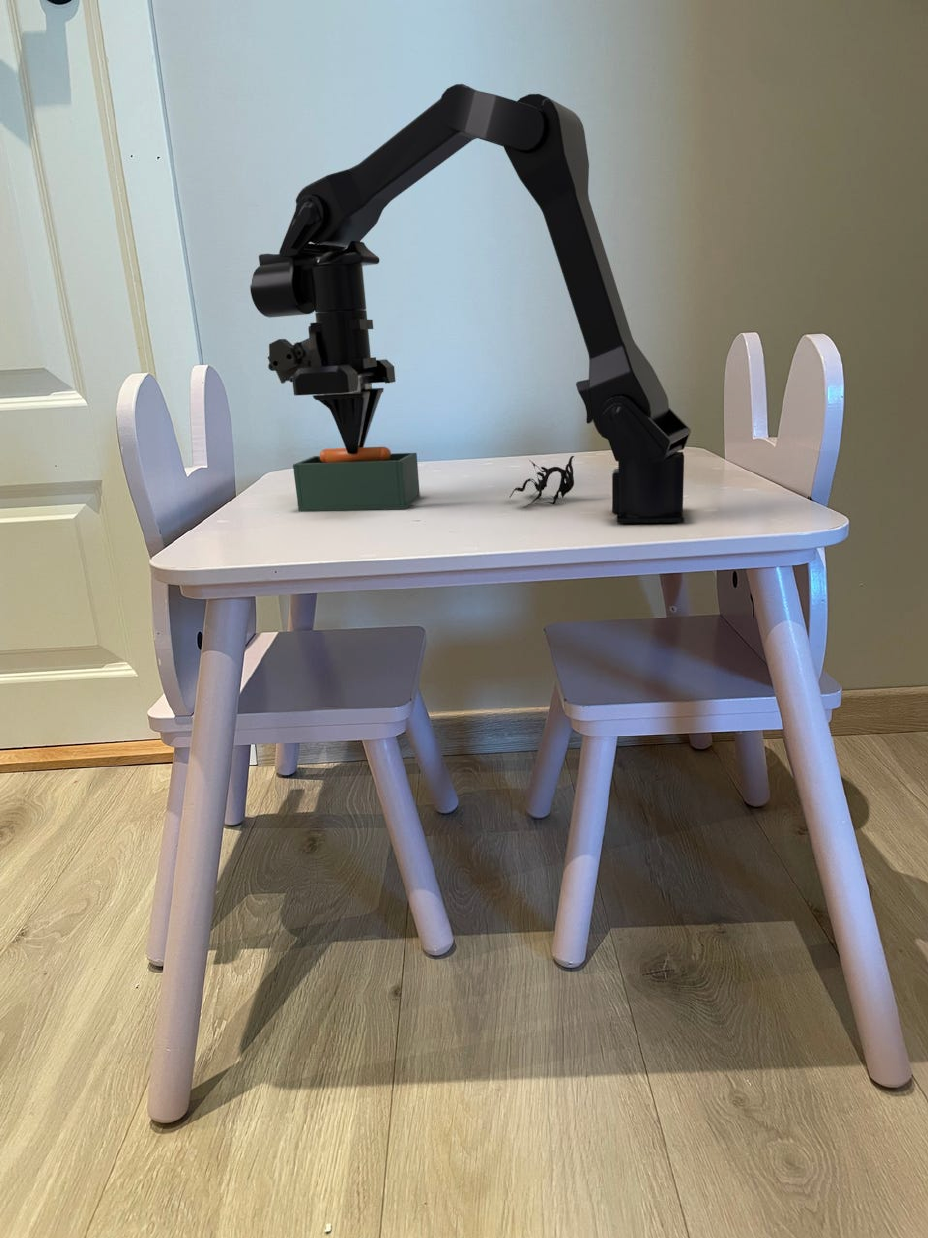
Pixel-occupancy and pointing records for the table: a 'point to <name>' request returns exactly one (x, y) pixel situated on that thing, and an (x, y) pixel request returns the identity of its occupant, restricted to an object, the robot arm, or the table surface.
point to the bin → (357, 484)
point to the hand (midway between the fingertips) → (355, 452)
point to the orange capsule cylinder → (355, 455)
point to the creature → (542, 484)
